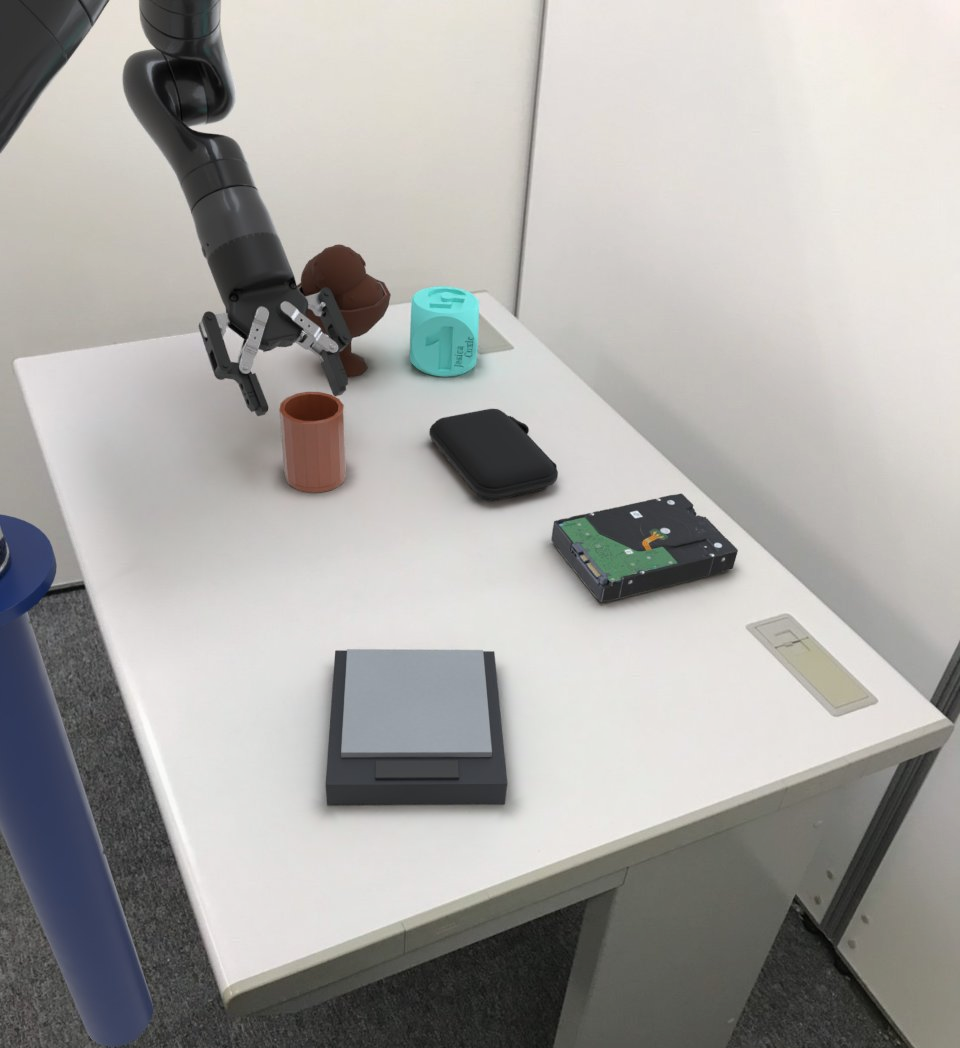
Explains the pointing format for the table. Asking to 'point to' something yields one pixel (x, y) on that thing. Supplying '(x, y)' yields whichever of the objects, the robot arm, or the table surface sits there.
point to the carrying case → (493, 454)
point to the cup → (313, 441)
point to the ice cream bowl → (346, 296)
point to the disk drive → (642, 547)
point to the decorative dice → (444, 331)
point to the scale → (415, 729)
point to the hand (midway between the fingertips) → (302, 403)
